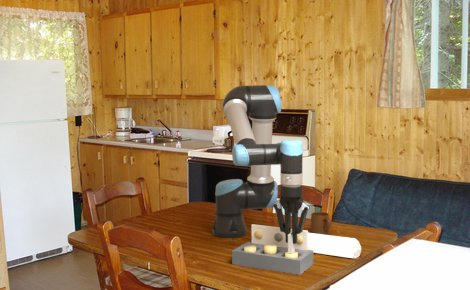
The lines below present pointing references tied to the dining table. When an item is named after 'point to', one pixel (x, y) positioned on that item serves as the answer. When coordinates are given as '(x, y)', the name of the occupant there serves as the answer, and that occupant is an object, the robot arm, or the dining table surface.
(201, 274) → the dining table surface
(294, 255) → the button right
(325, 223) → the mug
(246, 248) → the button left
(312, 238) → the crystal
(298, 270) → the console
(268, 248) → the button middle
